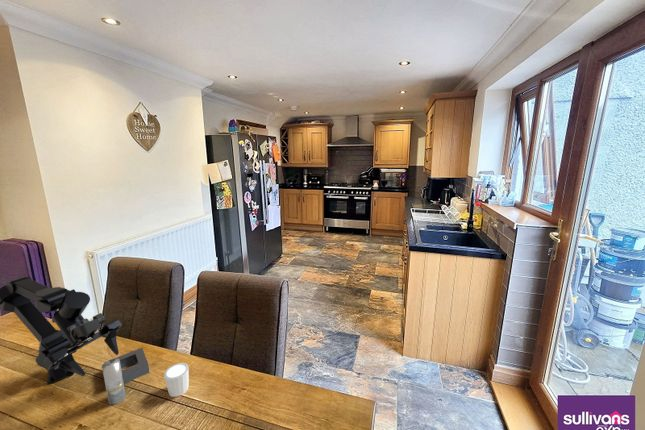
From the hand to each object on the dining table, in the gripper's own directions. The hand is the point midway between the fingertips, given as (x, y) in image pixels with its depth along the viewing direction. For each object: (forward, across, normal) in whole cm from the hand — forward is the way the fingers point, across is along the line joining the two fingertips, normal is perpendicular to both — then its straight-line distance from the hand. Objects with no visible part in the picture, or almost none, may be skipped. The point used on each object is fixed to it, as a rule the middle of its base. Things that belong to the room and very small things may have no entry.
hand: (101, 364), depth 82 cm
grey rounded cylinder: (+11, 0, +5) cm, 12 cm away
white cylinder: (+22, +9, -6) cm, 24 cm away
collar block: (+5, +9, +10) cm, 14 cm away
